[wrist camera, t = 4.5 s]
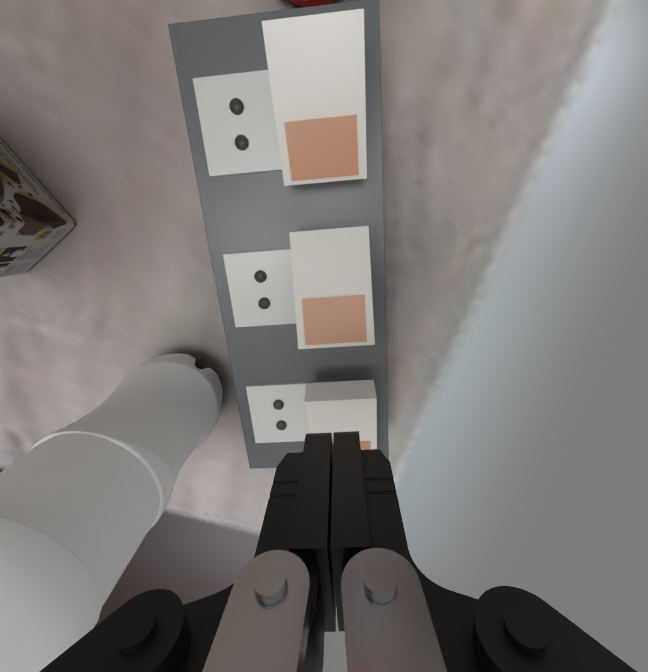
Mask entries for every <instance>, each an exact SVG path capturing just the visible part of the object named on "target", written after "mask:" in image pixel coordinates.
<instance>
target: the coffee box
mask: <svg viewBox="0 0 648 672" xmlns="http://www.w3.org/2000/svg"><path fill="white" fill-rule="evenodd" d="M74 226H75V224H74V221H73V220H72V218H71V217H70V216H69V215H68V214H67V213H66V212H65V210H64V209H63V208H62V207H61V206H60V205H59V204H58V203H57V202H56V200H55V199H54V198H53V197H52V196H51V195H50V194H49V193H48V192H47V190H46V189H45V188H44V187H43V186H42V185H41V184H40V183H39V181H38V180H37V179H36V178H35V177H34V176H33V175H32V174H31V172H30V171H29V170H28V169H27V168H26V167H25V166H24V165H23V163H22V162H21V161H20V160H19V159H18V158H17V157H16V156H15V154H14V153H13V152H12V151H11V150H10V149H9V148H8V147H7V145H6V144H5V143H4V142H3V141H2V140H1V139H0V277H4V276H10V275H17V274H22V273H26V272H27V271H28V270H29V269H30V268H31V267H32V266H34V265H35V264H36V263H37V262H38V261H39V260H40V259H41V258H42V257H43V256H44V255H45V254H46V253H47V252H48V251H50V250H51V249H52V248H53V247H54V246H55V245H56V244H57V243H58V242H59V241H60V240H61V239H62V238H63V237H64V236H65V235H66V234H68V233H69V232H70V231H71V230H72V228H73V227H74Z"/></svg>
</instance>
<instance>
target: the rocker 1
mask: <svg viewBox="0 0 648 672" xmlns="http://www.w3.org/2000/svg"><path fill="white" fill-rule="evenodd" d="M262 28H263V35H264V43H265V50H266V57H267V65H268V72H269V79H270V86H271V94H272V101H273V108H274V115H275V123H276V130H277V137H278V144H279V152H280V159H281V166H282V173H283V181H284V186H289V185H300V184H311V183H322V182H333V181H344V180H355V179H366V178H367V155H366V99H365V43H364V8H363V9H355V10H347V11H339V12H331V13H323V14H315V15H306V16H298V17H290V18H282V19H274V20H266V21H262Z"/></svg>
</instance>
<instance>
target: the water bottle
mask: <svg viewBox="0 0 648 672" xmlns="http://www.w3.org/2000/svg"><path fill="white" fill-rule="evenodd" d="M222 399H223V391H222V386H221V383H220V380H219V377H218V375H217V373H216V372H214V371H213V370H212V369H211V368H204V369H198V368H197V367H196V366H195V357H192V356H190V355H188V354H179V353H175V354H166V355H161V356H158V357H155V358H152V359H150V360H148V361H146V362H144V363H143V364H141V365H140V366H138V367H137V368H136V369H134V370H133V371H132V372H130V373H129V374H128V375H126V376H125V377H124V378H123V380H122V381H121V383H120V384H119V386H118V387H117V388H116V390H115V391H114V392H113V393H112V394H111V396H110V397H109V398H108V399H107V400H106V401H105V402H103V403H102V404H101V405H100V406H99V407H97V408H96V409H94V410H93V411H92V412H90V413H89V414H87V415H86V416H84V417H82V418H81V419H79V420H77V421H76V422H74V423H72V424H70V425H68V426H66V427H64V428H62V429H59V430H57V431H55V432H52V433H50V434H48V435H46V436H44V437H43V438H41V439H40V440H39V441H38V442H37V443H36V444H35V445H34V446H33V447H32V448H31V450H30V451H29V452H27V453H26V454H25V455H24V456H22V457H21V458H20V459H18V460H17V461H16V462H14V463H13V464H12V465H10V466H9V467H8V468H6V469H5V470H4V471H2V472H1V473H0V672H40V671H41V670H42V669H43V668H45V667H46V666H47V665H48V664H50V663H51V662H52V661H53V660H54V659H56V658H57V657H58V656H59V655H61V654H62V653H63V652H64V651H66V650H67V649H68V648H69V647H71V646H72V645H73V644H74V643H76V642H77V641H78V640H79V639H81V638H82V637H83V636H84V635H86V634H87V633H88V632H89V631H91V630H92V629H93V628H94V626H95V624H96V623H97V621H98V619H99V614H100V611H101V608H102V606H103V604H104V603H105V601H106V599H107V598H108V596H109V595H110V593H111V591H112V590H113V588H114V586H115V585H116V583H117V581H118V580H119V578H120V576H121V575H122V573H123V571H124V570H125V568H126V566H127V565H128V563H129V561H130V560H131V558H132V557H133V555H134V553H135V552H136V550H137V548H138V547H139V545H140V543H141V542H142V540H143V539H144V537H145V535H146V534H147V532H148V530H150V529H151V528H152V527H153V526H154V524H156V522H157V521H158V519H159V518H160V516H161V514H162V513H163V511H164V509H165V508H166V506H167V504H168V502H169V500H170V497H171V494H172V490H173V486H174V483H175V481H176V478H177V475H178V473H179V471H180V469H181V467H182V465H183V464H184V462H185V460H186V459H187V458H188V456H189V455H190V454H191V452H192V451H193V450H194V449H195V448H197V447H198V446H199V445H200V444H201V443H202V442H203V441H204V440H205V439H206V438H207V437H208V435H209V434H210V432H211V431H212V429H213V427H214V426H215V424H216V422H217V419H218V416H219V412H220V409H221V404H222Z"/></svg>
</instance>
